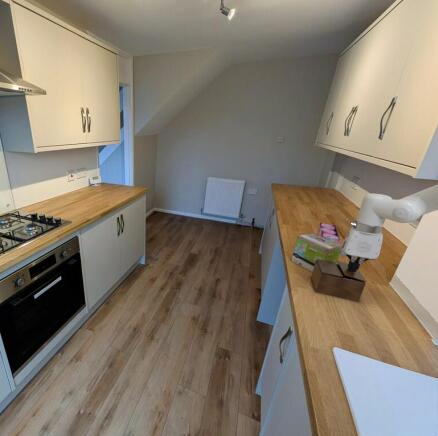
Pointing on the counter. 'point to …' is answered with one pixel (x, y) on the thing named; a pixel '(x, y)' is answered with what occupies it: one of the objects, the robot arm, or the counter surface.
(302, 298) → the counter surface
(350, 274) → the flap
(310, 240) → the tea box
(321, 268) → the carton
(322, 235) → the gum box
